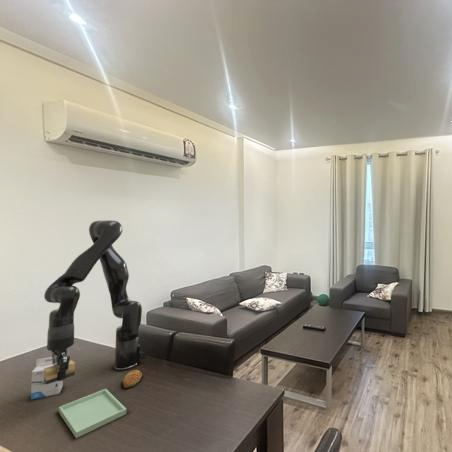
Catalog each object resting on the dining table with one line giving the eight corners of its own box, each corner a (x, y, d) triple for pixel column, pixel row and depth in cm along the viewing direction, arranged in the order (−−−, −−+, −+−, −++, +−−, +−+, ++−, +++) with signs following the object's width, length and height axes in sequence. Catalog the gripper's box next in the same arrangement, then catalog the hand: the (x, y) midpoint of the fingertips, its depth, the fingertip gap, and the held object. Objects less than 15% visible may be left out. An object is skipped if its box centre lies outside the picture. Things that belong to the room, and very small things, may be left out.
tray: (105, 393, 115) (105, 388, 115) (126, 413, 103) (126, 408, 103) (58, 412, 103) (58, 407, 103) (75, 438, 91) (76, 432, 91)
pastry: (137, 386, 120) (138, 378, 120) (119, 390, 117) (119, 381, 117) (142, 375, 128) (142, 367, 128) (125, 378, 125) (125, 370, 125)
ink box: (30, 400, 108) (31, 364, 108) (34, 393, 113) (35, 359, 112) (59, 393, 113) (60, 359, 113) (63, 387, 117) (63, 354, 117)
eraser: (71, 371, 111) (71, 360, 111) (74, 375, 109) (74, 363, 109) (43, 381, 105) (44, 368, 104) (46, 384, 102) (46, 371, 102)
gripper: (79, 336, 106) (78, 379, 106) (68, 327, 114) (67, 368, 114) (52, 343, 100) (51, 389, 100) (43, 333, 107) (41, 376, 108)
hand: (59, 377), depth 107 cm, fingers closed on eraser, 4 cm apart
